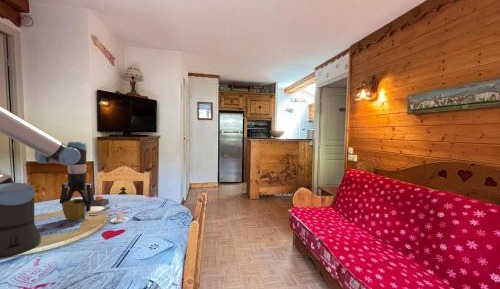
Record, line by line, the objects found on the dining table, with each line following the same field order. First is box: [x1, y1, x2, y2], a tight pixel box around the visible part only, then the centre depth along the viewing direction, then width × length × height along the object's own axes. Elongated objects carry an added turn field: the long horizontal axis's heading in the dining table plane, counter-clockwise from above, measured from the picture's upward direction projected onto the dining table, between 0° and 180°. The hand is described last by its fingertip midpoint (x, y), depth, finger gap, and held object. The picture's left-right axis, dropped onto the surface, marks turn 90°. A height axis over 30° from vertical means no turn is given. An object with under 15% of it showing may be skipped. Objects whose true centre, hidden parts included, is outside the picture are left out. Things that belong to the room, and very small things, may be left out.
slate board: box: [89, 205, 111, 214], centre depth 129 cm, size 13×13×1 cm
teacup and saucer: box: [110, 211, 129, 224], centre depth 116 cm, size 9×8×4 cm
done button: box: [94, 194, 104, 201], centre depth 140 cm, size 4×4×3 cm
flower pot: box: [61, 198, 85, 221], centre depth 116 cm, size 9×9×9 cm
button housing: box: [91, 198, 109, 206], centre depth 140 cm, size 7×7×3 cm
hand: (77, 217), depth 116 cm, fingers closed on flower pot, 8 cm apart
